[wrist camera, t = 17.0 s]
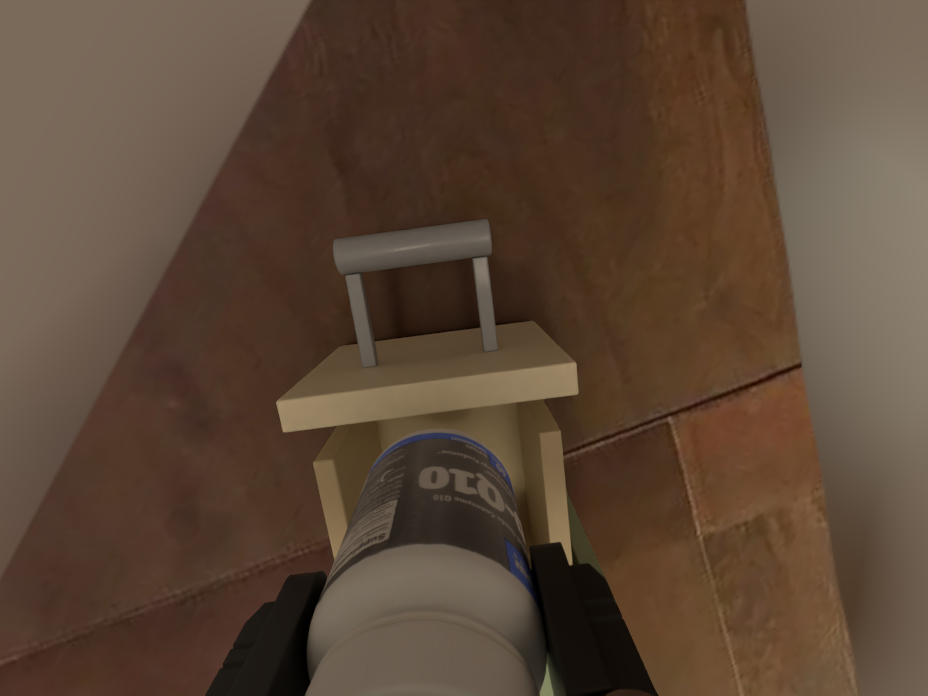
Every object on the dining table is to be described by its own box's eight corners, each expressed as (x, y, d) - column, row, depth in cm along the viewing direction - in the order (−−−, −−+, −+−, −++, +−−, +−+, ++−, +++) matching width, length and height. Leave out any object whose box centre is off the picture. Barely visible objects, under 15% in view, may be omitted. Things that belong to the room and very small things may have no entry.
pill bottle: (542, 482, 15) (652, 782, 7) (449, 580, 15) (445, 961, 7) (426, 394, 14) (387, 607, 6) (335, 502, 15) (186, 826, 7)
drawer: (319, 246, 23) (238, 246, 14) (523, 219, 23) (564, 203, 14) (379, 550, 27) (343, 693, 18) (554, 528, 27) (600, 661, 18)
